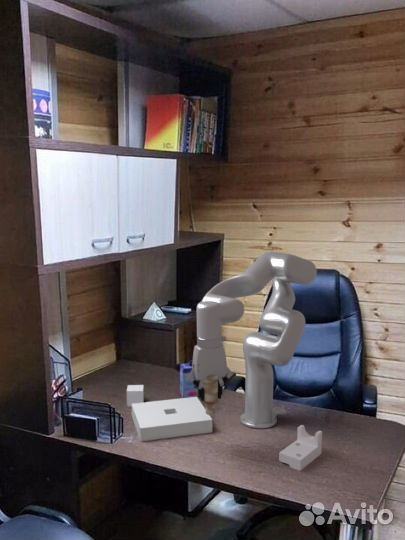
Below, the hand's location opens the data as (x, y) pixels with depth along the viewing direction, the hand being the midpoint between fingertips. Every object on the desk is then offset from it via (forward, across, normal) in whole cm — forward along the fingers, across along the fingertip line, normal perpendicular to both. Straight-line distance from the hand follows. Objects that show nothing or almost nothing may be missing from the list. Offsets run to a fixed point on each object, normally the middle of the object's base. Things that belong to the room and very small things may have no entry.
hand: (210, 397), depth 169 cm
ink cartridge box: (+17, -5, -42) cm, 46 cm away
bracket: (+17, -24, +14) cm, 33 cm away
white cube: (+17, +18, -40) cm, 47 cm away
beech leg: (+5, 0, 0) cm, 5 cm away
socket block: (+16, +9, -20) cm, 27 cm away
